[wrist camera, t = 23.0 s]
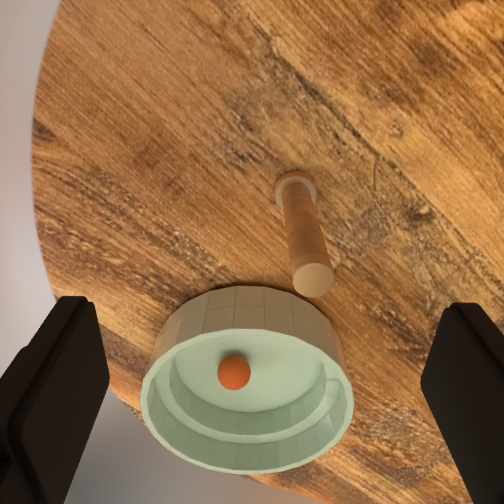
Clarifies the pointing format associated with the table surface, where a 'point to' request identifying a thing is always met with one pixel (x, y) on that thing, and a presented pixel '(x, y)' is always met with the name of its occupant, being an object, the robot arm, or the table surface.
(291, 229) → the rod
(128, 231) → the table surface
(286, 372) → the bowl
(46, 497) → the robot arm
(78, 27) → the table surface
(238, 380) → the ball
